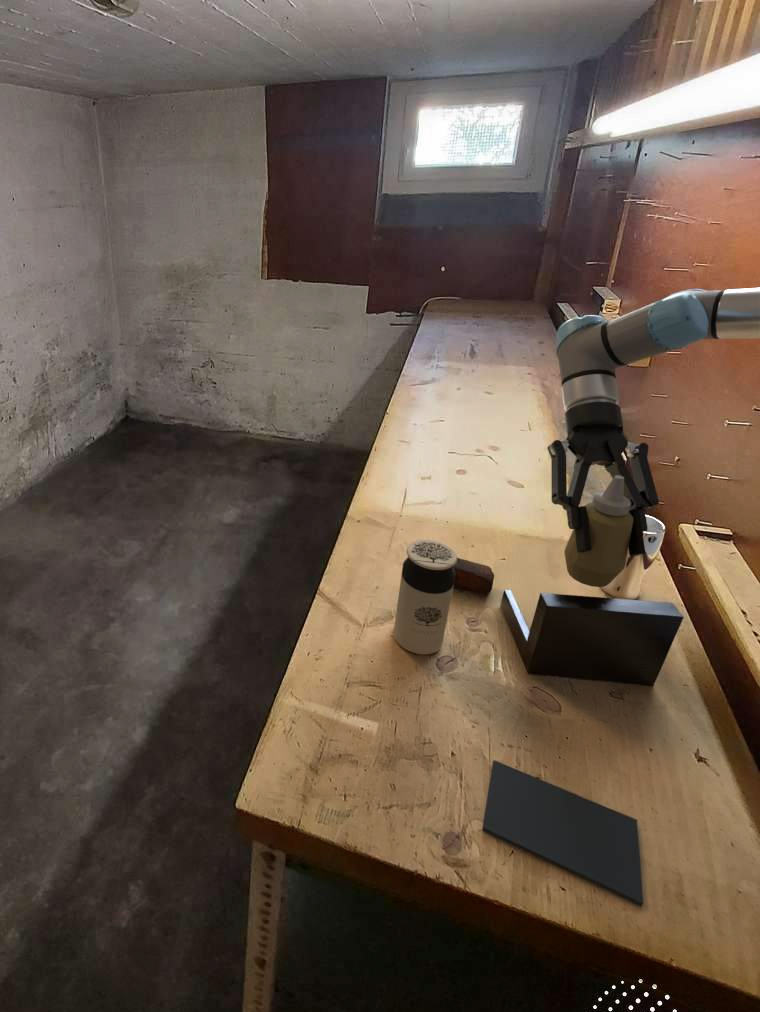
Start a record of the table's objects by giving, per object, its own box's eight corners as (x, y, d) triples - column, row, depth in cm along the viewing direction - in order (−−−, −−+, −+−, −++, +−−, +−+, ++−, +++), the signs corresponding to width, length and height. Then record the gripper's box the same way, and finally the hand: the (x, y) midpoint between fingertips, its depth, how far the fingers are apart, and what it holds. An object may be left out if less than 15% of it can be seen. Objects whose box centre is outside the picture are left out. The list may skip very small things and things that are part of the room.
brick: (429, 581, 109) (433, 562, 107) (433, 570, 112) (437, 551, 110) (489, 599, 104) (494, 579, 102) (491, 586, 107) (496, 566, 105)
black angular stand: (499, 606, 102) (515, 543, 96) (607, 615, 99) (630, 550, 93) (527, 674, 88) (547, 606, 82) (653, 686, 86) (684, 617, 79)
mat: (635, 822, 68) (637, 819, 68) (641, 906, 61) (643, 903, 60) (492, 762, 76) (493, 759, 75) (482, 830, 68) (483, 827, 68)
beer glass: (648, 592, 104) (674, 524, 97) (630, 607, 101) (656, 539, 94) (607, 572, 109) (630, 507, 103) (589, 586, 106) (611, 520, 99)
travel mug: (396, 616, 101) (407, 534, 93) (443, 628, 98) (459, 543, 90) (390, 648, 94) (402, 562, 86) (440, 661, 91) (458, 573, 83)
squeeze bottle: (549, 560, 93) (575, 464, 85) (599, 559, 92) (630, 463, 85) (575, 593, 86) (607, 491, 78) (630, 592, 85) (667, 490, 77)
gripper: (645, 419, 92) (668, 560, 85) (518, 415, 95) (530, 552, 88) (673, 400, 85) (701, 553, 78) (535, 397, 88) (550, 544, 81)
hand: (610, 552), depth 83 cm, fingers closed on squeeze bottle, 6 cm apart
